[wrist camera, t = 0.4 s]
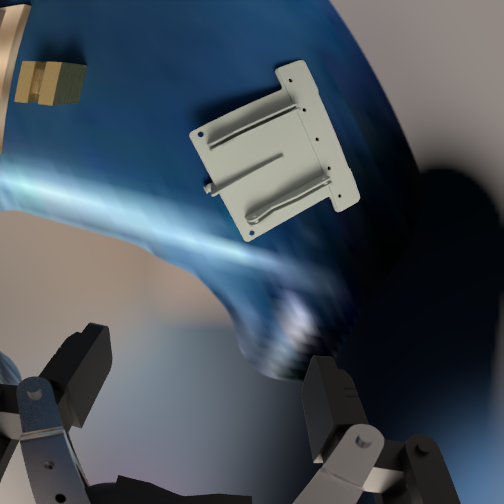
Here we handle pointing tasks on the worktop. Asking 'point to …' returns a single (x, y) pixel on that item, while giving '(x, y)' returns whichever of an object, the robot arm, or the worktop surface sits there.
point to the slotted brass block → (50, 82)
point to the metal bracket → (276, 156)
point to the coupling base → (9, 52)
